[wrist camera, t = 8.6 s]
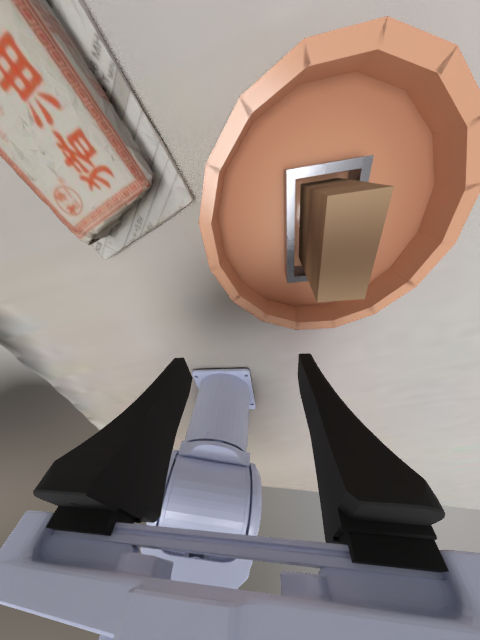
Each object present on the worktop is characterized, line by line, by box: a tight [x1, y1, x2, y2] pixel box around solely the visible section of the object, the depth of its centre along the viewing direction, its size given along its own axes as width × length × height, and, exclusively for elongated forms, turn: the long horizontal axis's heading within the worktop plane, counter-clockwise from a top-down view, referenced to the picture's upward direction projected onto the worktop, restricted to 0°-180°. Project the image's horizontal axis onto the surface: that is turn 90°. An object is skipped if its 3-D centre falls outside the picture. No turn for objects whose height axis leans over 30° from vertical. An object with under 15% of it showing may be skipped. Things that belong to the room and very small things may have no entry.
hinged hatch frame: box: [284, 155, 374, 283], centre depth 14 cm, size 7×5×2 cm, turn 8°
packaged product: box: [0, 0, 194, 260], centre depth 11 cm, size 18×5×10 cm
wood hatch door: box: [298, 178, 394, 303], centre depth 12 cm, size 5×2×7 cm, turn 8°
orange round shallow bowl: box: [199, 16, 480, 330], centre depth 14 cm, size 16×16×4 cm
